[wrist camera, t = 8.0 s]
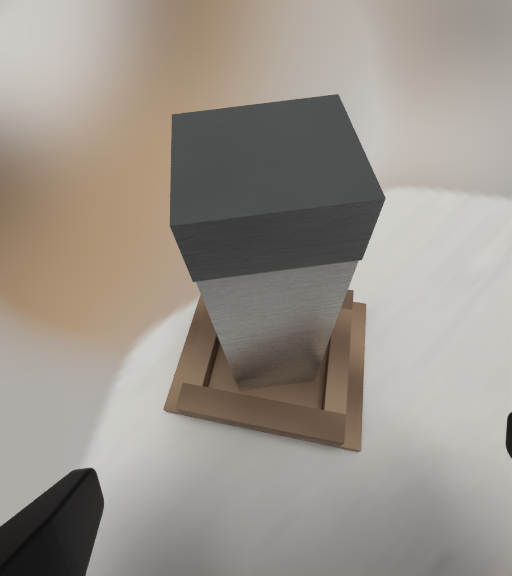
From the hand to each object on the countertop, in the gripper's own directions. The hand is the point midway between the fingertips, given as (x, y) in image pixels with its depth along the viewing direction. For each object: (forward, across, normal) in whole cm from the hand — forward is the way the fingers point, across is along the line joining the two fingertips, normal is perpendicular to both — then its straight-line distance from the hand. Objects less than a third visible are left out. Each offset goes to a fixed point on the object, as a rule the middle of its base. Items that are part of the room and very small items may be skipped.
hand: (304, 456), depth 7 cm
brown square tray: (+11, 0, +3) cm, 12 cm away
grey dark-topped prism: (+11, 0, +3) cm, 11 cm away
